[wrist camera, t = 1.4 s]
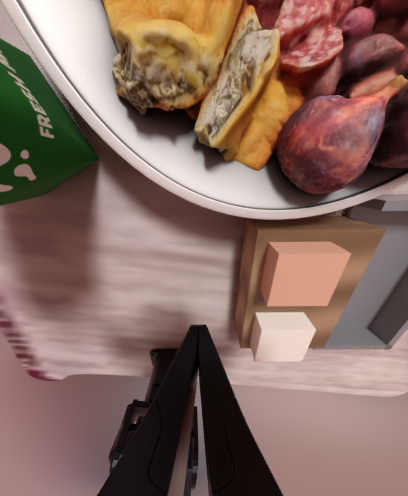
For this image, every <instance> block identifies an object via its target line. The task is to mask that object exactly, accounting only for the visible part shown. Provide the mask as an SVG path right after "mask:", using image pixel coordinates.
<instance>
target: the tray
mask: <svg viewBox="0 0 408 496" xmlns="http://www.w3.org/2000/svg"><path fill="white" fill-rule="evenodd" d="M345 216H346V217H349V218H353V219H356V220H359V221H362V222H365V223H368V224H371V225H375V226H378V227H381V228H384V229H387V230H386V232H385V233H384V235H383V237H382V239H381V241H380V243H379V245H378V247H377V249H376V250H375V252H374V254H373V256H372V258H371V260H370V262H369V264H368V265H367V267H366V269H365V271H364V273H363V275H362V277H361V279H360V281H359V282H358V284H357V286H356V288H355V290H354V292H353V294H352V296H351V297H350V299H349V301H348V303H347V305H346V307H345V309H344V311H343V312H342V314H341V316H340V318H339V320H338V322H337V324H336V326H335V328H334V329H333V331H332V333H331V335H330V337H329V339H328V341H327V343H326V344H325V346H324V348H313V349H391V348H392V346H393V345H394V344H395V343H396V342H397V340H398V339H399V338H400V337H401V336H402V335H403V333H404V332H405V331H406V330H407V329H408V195H380V196H378V197H376V198H373V199H371V200H368V201H366V202H363V203H360V204H357V205H354V206H351V207H348V210H347V213H346V215H345Z"/></svg>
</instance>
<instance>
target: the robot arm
mask: <svg viewBox="0 0 408 496" xmlns="http://www.w3.org/2000/svg"><path fill="white" fill-rule="evenodd" d="M150 357H151V360H152V364H153V371H152V375H151V379H150V382H149V386H148V390H147V394H146V398H145V401H138V400H136V399H134V400H133V403H132V404H130V405H128V406H127V410H126V413H125V416H124V419H123V421H122V424H121V427H120V429H119V432H118V434H117V437H116V439H115V441H114V444H113V446H112V449H111V451H110V454H109V458H108V459H109V463H110V470H109V473H110V475H109V477H108V479H107V480H106V482H105V484H104V485H103V487H102V489H101V490H100V492H99V493H98V495H97V496H190V494H191V490H194V488H195V485H196V478H197V469H198V424H197V423H198V422H197V406H194V403H195V394H196V386H197V378H198V367H199V382H200V394H201V406H202V418H203V430H204V442H205V454H206V465H207V478H208V489H209V496H283V494H282V492H281V490H280V489H279V486H278V484H277V482H276V481H275V479H274V477H273V475H272V473H271V471H270V469H269V467H268V465H267V463H266V461H265V459H264V457H263V455H262V453H261V451H260V449H259V447H258V445H257V443H256V441H255V439H254V437H253V435H252V433H251V431H250V429H249V427H248V425H247V423H246V420H245V418H244V416H243V413H242V411H241V409H240V407H239V404H238V401H237V399H236V397H235V394H234V392H233V389H232V387H231V384H230V382H229V380H228V377H227V375H226V372H225V370H224V367H223V365H222V362H221V360H220V357H219V355H218V352H217V350H216V347H215V345H214V343H213V340H212V338H211V335H210V333H209V330H208V328H207V326H206V325H191V326H190V328H189V330H188V332H187V334H186V336H185V338H184V340H183V342H182V344H181V346H180V348H179V350H152V351H151V352H150ZM134 421H137V423H136V424H134Z"/></svg>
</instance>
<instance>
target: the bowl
mask: <svg viewBox="0 0 408 496" xmlns="http://www.w3.org/2000/svg"><path fill="white" fill-rule="evenodd" d="M0 1H1V3H2V4H3V6H4V8H5V10H6V11H7V13H8V15H9V16H10V18H11V19H12V21H13V23H14V24H15V26H16V27H17V29H18V31H19V32H20V34H21V35H22V37H23V39H24V40H25V42H26V43H27V45H28V46H29V48H30V49H31V51H32V52H33V54H34V55H35V57H36V58H37V60H38V61H39V63H40V64H41V66H42V67H43V68H44V70H45V71H46V72H47V74H48V75H49V77H50V78H51V79H52V81H53V82H54V83H55V85H56V86H57V87H58V89H59V90H60V91H61V93H62V94H63V95H64V96H65V98H66V99H67V100H68V101H69V103H70V104H71V105H72V106H73V108H74V109H75V110H76V111H77V112H78V113H79V115H80V116H81V117H82V118H83V119H84V120H85V121H86V122H87V124H88V125H89V126H90V127H91V128H92V129H93V130H94V131H95V132H96V133H97V134H98V135H99V136H100V137H101V138H102V139H103V140H104V141H105V142H106V143H107V144H108V145H109V146H110V147H111V148H112V149H113V150H114V151H115V152H116V153H117V154H118V155H119V156H121V157H122V158H123V159H124V160H125V161H127V162H128V163H129V164H130V165H131V166H133V167H134V168H135V169H136V170H138V171H139V172H140V173H142V174H143V175H144V176H146V177H147V178H149V179H150V180H152V181H153V182H155V183H156V184H158V185H159V186H161V187H162V188H164V189H166V190H168V191H169V192H171V193H173V194H175V195H177V196H179V197H181V198H183V199H185V200H187V201H189V202H191V203H194V204H196V205H198V206H201V207H204V208H207V209H210V210H213V211H216V212H220V213H223V214H227V215H232V216H237V217H243V218H251V219H264V220H283V219H297V218H305V217H311V216H317V215H322V214H326V213H330V212H334V211H338V210H341V209H345V208H348V207H351V206H354V205H357V204H360V203H363V202H366V201H368V200H371V199H373V198H376V197H378V196H380V195H383V194H385V193H387V192H389V191H391V190H394V189H396V188H398V187H400V186H402V185H404V184H406V183H408V0H0Z"/></svg>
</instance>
